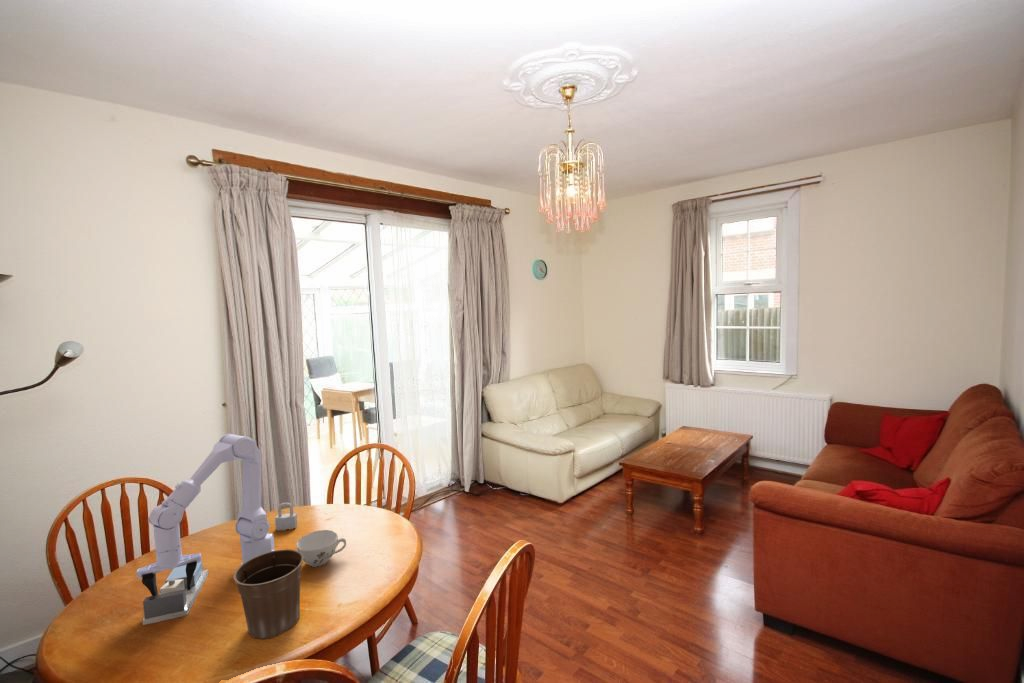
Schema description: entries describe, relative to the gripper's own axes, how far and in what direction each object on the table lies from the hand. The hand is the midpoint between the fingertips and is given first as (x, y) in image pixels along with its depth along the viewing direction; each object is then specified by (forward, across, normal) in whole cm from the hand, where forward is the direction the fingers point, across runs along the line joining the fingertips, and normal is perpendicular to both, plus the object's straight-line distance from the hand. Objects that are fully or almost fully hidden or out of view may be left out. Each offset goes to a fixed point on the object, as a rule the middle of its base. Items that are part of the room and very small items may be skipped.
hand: (172, 593), depth 129 cm
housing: (+2, 0, 0) cm, 2 cm away
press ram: (+2, -2, -10) cm, 11 cm away
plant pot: (+4, -24, +24) cm, 34 cm away
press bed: (+4, -1, -4) cm, 5 cm away
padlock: (+4, -32, -33) cm, 46 cm away
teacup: (+4, -40, 0) cm, 40 cm away
